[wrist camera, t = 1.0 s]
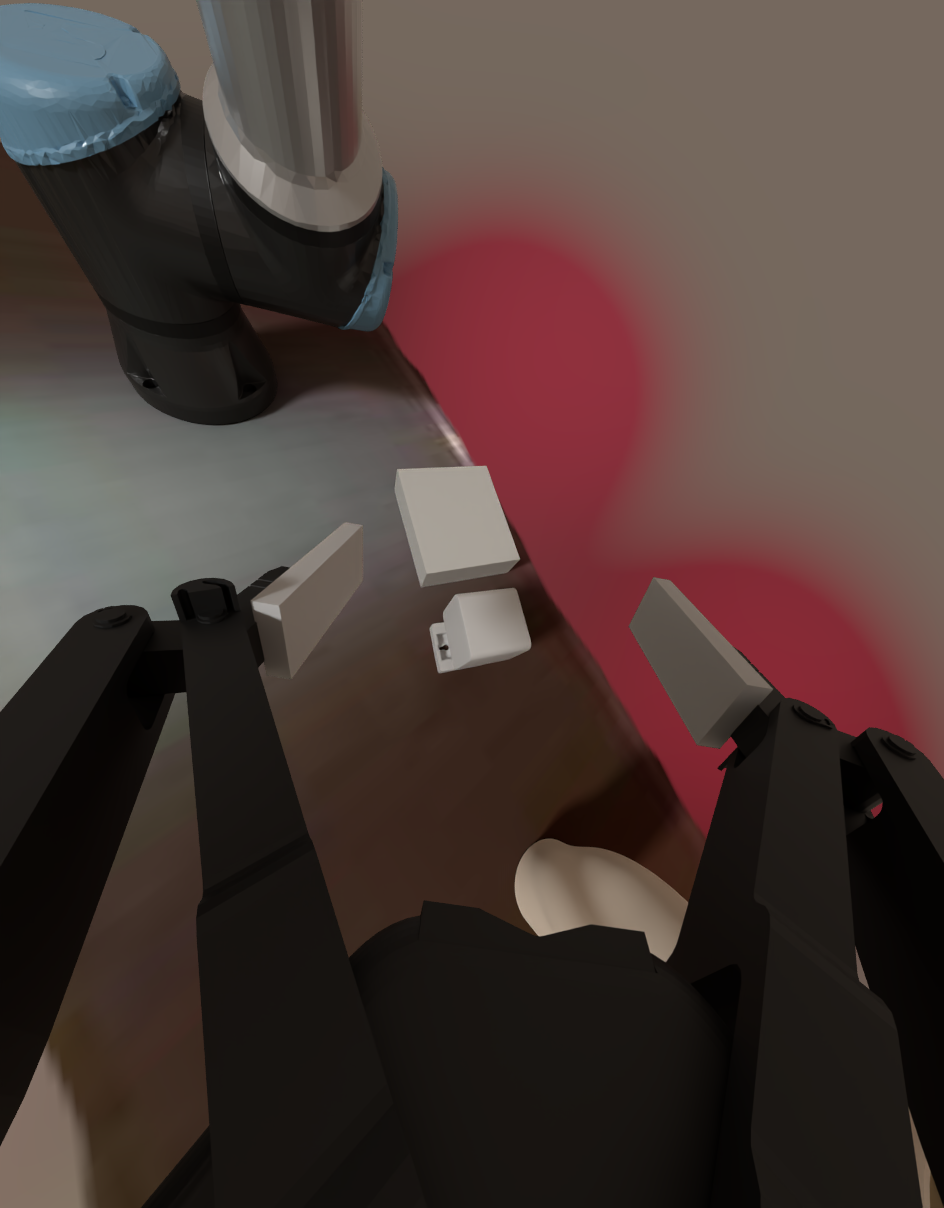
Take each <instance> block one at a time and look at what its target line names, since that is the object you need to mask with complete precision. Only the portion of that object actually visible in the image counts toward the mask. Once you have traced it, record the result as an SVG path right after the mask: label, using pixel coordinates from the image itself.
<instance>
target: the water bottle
mask: <svg viewBox="0 0 944 1208" xmlns="http://www.w3.org/2000/svg"><path fill="white" fill-rule="evenodd" d="M515 894H516V900H517V904H518V907H519V910H520V912H521V913H522V915H523V917H524V918H525V920H526V921H527V922H528V924H529V925H530V926H531V927H532V928H533V930H534V931H535V932H536V934H537V935H538V936H545V935H549V934H553V933H557V932H561V931H565V930H570V929H574V928H578V927H582V926H586V925H590V924H593V925H600V926H607V927H614V928H621V929H629V930H636V931H643V932H645V936H646V939H647V943H648V946H649V950H650V953H652V954H654V955H655V956H657V957H658V958H660V959H661V960H663V961H664V962H666V961H667V960H668V958H669V957H670V955H671V954H672V952H673V950H674V948H675V946H676V944H677V941H678V937H679V934H680V930H681V927H682V923H683V920H684V916H685V913H686V909H687V906H688V902H687V901H686V900H685V899H684V898H683V897H681V896H680V895H679V894H678V893H677V892H676V891H675V890H674V889H673V888H671V887H670V886H669V885H668V884H666V883H665V882H664V881H663V880H661V879H660V878H659V877H658V876H656V875H655V874H653V873H652V872H651V871H649V870H648V869H646V868H644V867H643V866H641V865H640V864H638V863H636V862H635V861H633V860H631V859H629V858H627V857H625V856H623V855H620V854H618V853H615V852H612V851H609V850H606V849H601V848H595V847H576V846H570V845H567V844H565V843H563V842H561V841H559V840H556V839H543V840H540V841H538V842H536V843H534V844H533V845H532V846H530V847H529V848H528V850H527V851H526V852H525V853H524V855H523V857H522V858H521V860H520V863H519V865H518V868H517V872H516V878H515ZM908 1108H909V1107H908ZM909 1115H910V1122H911V1129H912V1136H913V1143H914V1149H915V1156H916V1163H917V1170H918V1177H919V1184H920V1191H921V1198H922V1205H923V1208H944V1207H943V1204H942V1202H941V1199H940V1196H939V1193H938V1191H937V1188H936V1185H935V1182H934V1180H933V1177H932V1174H931V1171H930V1169H929V1166H928V1163H927V1160H926V1158H925V1155H924V1152H923V1149H922V1147H921V1144H920V1141H919V1138H918V1135H917V1132H916V1128H915V1125H914V1122H913V1119H912V1116H911V1113H910V1110H909Z"/></svg>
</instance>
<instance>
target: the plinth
mask: <svg viewBox="0 0 944 1208" xmlns="http://www.w3.org/2000/svg"><path fill="white" fill-rule="evenodd" d="M395 494H396V498H397V501H398V505H399V509H400V512H401V516H402V520H403V523H404V527H405V531H406V534H407V538H408V542H409V545H410V549H411V553H412V556H413V560H414V564H415V567H416V571H417V575H418V578H419V582H420V586H421V587H427V586H433V585H439V584H444V583H450V582H456V581H462V580H468V579H474V578H479V577H485V576H491V575H497V574H503V573H508V572H509V571H510V569H511V568H512V567H513V566H514V565H515V564H516V563H517V562H518V561H519V560H520V557H519V555H518V552H517V549H516V546H515V544H514V541H513V538H512V535H511V533H510V530H509V527H508V524H507V522H506V519H505V516H504V513H503V510H502V508H501V505H500V502H499V499H498V497H497V494H496V491H495V488H494V486H493V483H492V480H491V477H490V475H489V472H488V469H487V466H470V467H443V468H417V469H397V475H396V483H395Z"/></svg>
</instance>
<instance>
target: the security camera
mask: <svg viewBox="0 0 944 1208" xmlns="http://www.w3.org/2000/svg"><path fill="white" fill-rule="evenodd" d="M443 619H444V622H443V623H436V624H432V626H431V627H430V634H431V639H432V644H433V649H434V654H435V660H436V665H437V670H438V672H439V673H444V672H449V671H454V670H459V669H464V668H469V667H474V666H479V665H483V664H488V663H493V662H498V661H503V660H508V659H511V658H513V657H515V656H517V655H519V654H522V653H524V652H526V651H528V650H529V649H530V648H531V640H530V636H529V633H528V629H527V625H526V622H525V618H524V615H523V611H522V607H521V604H520V600H519V597H518V593H517V591H516V589H515V588H508V589H499V590H490V591H481V592H472V593H464V594H456V595H455V596H454V597H453V599H452V600H451V602H450V603H449V604H448V606H447V607H446V609H445V610H444V612H443ZM444 645H448V647H449V649H448V650H439V647H443V646H444Z"/></svg>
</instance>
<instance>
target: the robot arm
mask: <svg viewBox="0 0 944 1208" xmlns="http://www.w3.org/2000/svg"><path fill="white" fill-rule="evenodd" d="M196 2H197V6H198V9H199V13H200V16H201V20H202V24H203V27H204V31H205V34H206V38H207V41H208V45H209V48H210V52H211V56H212V59H213V64H212V65H211V67H210V68H209V70H208V72H207V75H206V78H205V82H204V88H203V101H202V100H199V99H197V98H194V97H191V96H189V95H187V94H185V93H183V92H182V91H181V90H180V83H179V79H178V76H177V73H176V72H175V71H174V69H173V68H172V66H171V64H170V61H169V59H168V57H167V55H166V54H165V52H164V51H163V50H162V48H161V47H160V46H159V45H158V44H157V43H156V42H155V41H154V40H153V39H151V38H150V37H149V36H148V35H142V34H141V33H140V32H139V31H138V30H137V29H136V28H135V27H133V26H131V25H129V24H127V23H124V22H122V21H120V20H117V19H115V18H112V17H109V16H106V15H103V14H100V13H96V12H92V11H88V10H84V9H79V8H73V7H66V6H59V5H51V4H36V3H24V4H10V5H9V4H8V5H2V6H0V137H1V141H2V144H3V147H4V148H5V150H6V152H7V153H8V155H9V156H10V157H11V158H12V159H14V160H15V162H16V164H17V165H18V167H19V168H20V170H21V172H22V173H23V175H24V176H25V178H26V180H27V181H28V183H29V185H30V186H31V188H32V189H33V191H34V193H35V194H36V196H37V198H38V199H39V201H40V202H41V204H42V206H43V207H44V209H45V210H46V212H47V214H48V215H49V217H50V219H51V220H52V222H53V223H54V225H55V227H56V228H57V230H58V231H59V233H60V235H61V236H62V238H63V240H64V241H65V243H66V244H67V246H68V248H69V249H70V251H71V253H72V254H73V256H74V257H75V259H76V261H77V262H78V264H79V265H80V267H81V269H82V270H83V272H84V274H85V275H86V277H87V278H88V280H89V282H90V283H91V285H92V286H93V288H94V289H95V291H96V293H97V294H98V296H99V298H100V299H101V301H102V303H103V304H104V306H105V308H106V310H107V314H108V318H109V322H110V326H111V330H112V334H113V338H114V343H115V347H116V351H117V355H118V359H119V362H120V365H121V367H122V369H123V371H124V373H125V375H126V376H127V378H128V379H129V381H130V382H131V384H132V385H133V387H134V388H135V390H136V391H137V392H138V394H139V395H140V396H141V397H142V398H143V399H144V400H145V401H146V402H147V403H149V404H150V405H151V406H153V407H154V408H156V409H158V410H159V411H161V412H163V413H165V414H167V415H170V416H172V417H175V418H178V419H181V420H185V421H189V422H194V423H200V424H229V423H235V422H239V421H243V420H246V419H249V418H251V417H253V416H255V415H257V414H259V413H261V412H262V411H263V410H265V409H266V408H267V407H268V406H269V405H270V403H271V402H272V401H273V399H274V397H275V394H276V391H277V379H276V375H275V371H274V367H273V363H272V360H271V358H270V356H269V353H268V352H267V350H266V348H265V347H264V345H263V343H262V342H261V340H260V338H259V337H258V335H257V333H256V332H255V330H254V328H253V327H252V325H251V324H250V322H249V320H248V319H247V317H246V315H245V314H244V312H243V310H242V308H241V306H240V304H244V305H249V306H253V307H257V308H261V309H265V310H269V311H274V312H278V313H282V314H286V315H290V316H294V317H298V318H302V319H306V320H310V321H314V322H318V323H322V324H326V325H330V326H334V327H338V328H339V329H342V330H346V329H355V330H361V331H373V330H375V329H376V328H378V327H379V325H380V324H381V322H382V321H383V318H384V316H385V313H386V309H387V306H388V301H389V297H390V291H391V285H392V278H393V277H392V275H393V272H392V268H393V265H394V260H395V254H396V244H397V229H398V228H397V227H398V200H397V198H398V197H397V188H396V184H395V181H394V179H393V177H392V176H391V175H390V173H389V172H387V171H386V170H384V168H383V167H382V159H381V154H380V149H379V145H378V141H377V138H376V136H375V133H374V131H373V128H372V126H371V124H370V122H369V120H368V118H367V116H366V114H365V113H364V111H363V109H362V18H363V15H362V14H363V11H362V10H363V0H196ZM362 581H363V525H358V524H352V523H347V522H345V523H344V524H342V525H341V526H340V527H339V528H338V529H336V530H335V531H334V532H333V533H332V534H330V535H329V536H328V537H327V538H325V539H324V540H323V541H322V542H321V543H319V544H318V545H317V546H316V547H315V548H313V549H312V550H311V551H310V552H309V553H307V554H306V555H305V556H304V557H303V558H301V559H300V560H299V561H298V562H297V563H295V564H294V565H293V566H292V567H291V568H289V567H283V566H281V567H279V568H276V569H273V570H271V571H268V572H267V573H265V574H264V575H263V576H261V577H260V578H259V579H258V580H256V581H255V582H254V583H252V584H251V586H248V587H247V588H246V589H244V590H243V591H242V592H241V593H239V594H238V595H237V594H236V590H235V586H234V585H233V583H232V582H230V581H228V580H225V579H219V578H203V579H197V580H193V581H189V582H186V583H184V584H181V585H179V586H178V587H176V588H175V589H174V590H173V591H172V593H171V598H172V600H173V603H174V606H175V608H176V611H177V614H178V617H179V619H180V620H174V621H151V619H150V617H149V614H148V612H147V611H146V610H145V609H144V608H142V607H139V606H135V605H120V606H110V607H105V608H104V609H103V608H102V609H99V610H96V611H94V612H92V613H90V614H87V615H85V616H83V617H82V618H81V619H79V620H78V621H77V622H76V623H75V624H74V625H73V626H72V628H71V629H70V630H69V631H68V632H67V634H66V635H65V636H64V637H63V638H62V639H61V641H60V642H59V643H58V644H57V645H56V647H55V648H54V649H53V650H52V651H51V653H50V654H49V655H48V656H47V657H46V658H45V660H44V661H43V662H42V663H41V664H40V666H39V667H38V668H37V669H36V670H35V672H34V673H33V674H32V675H31V676H30V677H29V679H28V680H27V681H26V682H25V683H24V685H23V686H22V687H21V688H20V689H19V690H18V692H17V693H16V694H15V695H14V696H13V698H12V699H11V700H10V701H9V702H8V704H7V705H6V706H5V707H4V708H3V709H2V711H1V712H0V1146H1V1144H2V1141H3V1139H4V1138H5V1135H6V1133H7V1131H8V1129H9V1127H10V1125H11V1123H12V1121H13V1119H14V1117H15V1115H16V1113H17V1111H18V1109H19V1107H20V1105H21V1103H22V1101H23V1099H24V1097H25V1094H26V1092H27V1089H28V1087H29V1085H30V1082H31V1080H32V1077H33V1075H34V1072H35V1070H36V1068H37V1065H38V1063H39V1060H40V1058H41V1056H42V1053H43V1051H44V1048H45V1046H46V1043H47V1041H48V1039H49V1036H50V1033H51V1030H52V1028H53V1025H54V1022H55V1019H56V1017H57V1014H58V1011H59V1009H60V1006H61V1003H62V1000H63V998H64V995H65V992H66V989H67V987H68V984H69V981H70V979H71V976H72V973H73V970H74V968H75V965H76V962H77V960H78V957H79V954H80V951H81V949H82V946H83V943H84V940H85V938H86V935H87V932H88V930H89V927H90V924H91V921H92V919H93V916H94V913H95V911H96V908H97V905H98V902H99V900H100V897H101V894H102V891H103V889H104V886H105V883H106V881H107V878H108V875H109V872H110V870H111V867H112V864H113V862H114V859H115V856H116V853H117V851H118V848H119V845H120V842H121V840H122V837H123V834H124V832H125V829H126V826H127V823H128V821H129V818H130V815H131V812H132V810H133V807H134V804H135V802H136V799H137V796H138V793H139V791H140V788H141V785H142V783H143V780H144V777H145V774H146V772H147V769H148V766H149V763H150V761H151V758H152V755H153V753H154V750H155V747H156V744H157V742H158V739H159V736H160V734H161V731H162V728H163V725H164V723H165V720H166V717H167V714H168V712H169V709H170V706H171V704H172V701H173V698H174V695H175V693H181V692H187V704H188V715H189V727H190V738H191V750H192V762H193V773H194V785H195V796H196V808H197V820H198V831H199V843H200V855H201V866H202V878H203V898H202V900H201V901H200V903H199V905H198V909H197V917H196V926H197V948H198V963H199V977H200V992H201V1007H202V1021H203V1036H204V1051H205V1065H206V1080H207V1095H208V1109H209V1124H210V1125H209V1126H208V1128H207V1129H206V1130H205V1131H204V1132H203V1134H202V1135H201V1136H200V1137H199V1138H198V1140H197V1141H196V1142H195V1143H194V1145H193V1146H192V1147H191V1148H190V1149H189V1151H188V1152H187V1153H186V1154H185V1155H184V1157H183V1158H182V1159H181V1160H180V1161H179V1163H178V1164H177V1165H176V1166H175V1167H174V1169H173V1170H172V1171H171V1172H170V1173H169V1175H168V1176H167V1177H166V1178H165V1179H164V1181H163V1182H162V1183H161V1184H160V1185H159V1187H158V1188H157V1189H156V1190H155V1191H154V1193H153V1194H152V1195H151V1196H150V1197H149V1199H148V1200H147V1201H146V1202H145V1204H144V1205H143V1206H142V1207H141V1208H923V1205H922V1198H921V1191H920V1184H919V1177H918V1170H917V1163H916V1156H915V1149H914V1143H913V1136H912V1129H911V1122H910V1115H909V1110H910V1113H911V1116H912V1119H913V1122H914V1125H915V1128H916V1132H917V1135H918V1138H919V1141H920V1144H921V1147H922V1149H923V1152H924V1155H925V1158H926V1160H927V1163H928V1166H929V1169H930V1171H931V1174H932V1177H933V1180H934V1182H935V1185H936V1188H937V1191H938V1193H939V1196H940V1199H941V1202H942V1204H943V1207H944V779H943V778H942V776H941V775H940V774H939V772H938V771H937V770H936V768H935V767H934V766H933V764H932V763H931V762H930V760H929V759H927V757H926V756H925V755H924V754H923V753H922V752H920V751H919V750H918V749H916V748H915V747H914V745H913V744H911V743H910V742H908V741H905V740H904V739H903V738H901V737H900V736H897V735H894V734H892V733H889V732H887V731H884V730H881V729H878V728H868V729H867V730H865V731H864V732H863V733H862V734H860V735H859V736H858V737H854V736H851V735H849V734H846V733H843V732H840V731H838V730H837V729H836V727H835V725H834V724H833V723H832V721H831V720H830V719H829V718H828V717H826V716H825V715H824V714H823V713H821V712H820V711H819V710H817V709H815V708H814V707H812V706H810V705H808V704H806V703H804V702H801V701H799V700H796V699H792V698H785V697H784V696H783V695H782V694H781V693H780V692H779V691H778V690H777V689H776V688H775V687H774V686H773V685H772V684H771V683H770V682H769V681H768V680H767V679H766V677H764V676H763V674H762V673H760V672H759V670H758V669H757V668H756V667H755V666H754V665H753V664H751V662H750V661H749V660H748V659H747V658H746V657H745V656H744V655H743V653H742V652H740V651H739V650H737V649H736V648H735V647H733V646H732V645H731V644H730V643H729V642H728V641H727V640H726V639H725V638H724V637H723V636H722V635H721V634H720V633H719V631H717V629H716V628H715V627H714V626H713V625H712V624H711V623H710V622H709V621H708V620H707V619H706V618H705V617H704V616H703V615H702V614H701V612H700V611H698V609H697V608H696V607H695V606H694V605H693V604H692V603H691V602H690V601H689V600H688V599H687V598H686V597H685V596H684V594H683V593H682V592H681V591H680V590H679V589H678V588H677V587H676V586H675V585H674V584H673V583H672V582H671V581H670V580H666V579H660V578H655V577H654V578H653V579H652V581H651V583H650V585H649V587H648V589H647V592H646V593H645V595H644V597H643V599H642V601H641V603H640V605H639V607H638V609H637V611H636V613H635V615H634V617H633V619H632V621H631V623H630V625H629V628H630V630H631V631H632V633H633V634H634V637H635V638H636V640H637V642H638V644H639V645H640V647H641V649H642V651H643V652H644V654H645V656H646V657H647V659H648V661H649V663H650V664H651V666H652V668H653V670H654V671H655V673H656V675H657V677H658V678H659V680H660V682H661V684H662V685H663V687H664V689H665V690H666V692H667V694H668V696H669V697H670V699H671V701H672V703H673V704H674V706H675V708H676V710H677V711H678V713H679V715H680V717H681V718H682V720H683V722H684V723H685V725H686V727H687V729H688V730H689V732H690V734H691V736H692V737H693V739H694V741H695V742H696V744H697V745H700V746H706V747H712V748H718V749H720V748H721V747H722V745H723V744H724V743H725V742H726V741H727V740H728V739H729V738H730V737H732V739H733V740H734V741H735V743H736V744H737V746H738V747H737V748H736V749H735V750H734V751H733V752H732V753H731V754H730V755H729V756H728V758H727V759H726V760H725V761H724V762H723V763H722V764H721V765H720V766H719V767H718V769H719V770H721V771H722V770H723V769H724V768H727V769H726V773H725V776H724V780H723V783H722V787H721V790H720V794H719V797H718V801H717V805H716V808H715V811H714V815H713V818H712V822H711V825H710V829H709V832H708V836H707V839H706V843H705V846H704V850H703V853H702V857H701V860H700V864H699V867H698V871H697V874H696V878H695V881H694V885H693V888H692V892H691V895H690V899H689V902H688V906H687V909H686V913H685V916H684V920H683V923H682V927H681V930H680V934H679V937H678V941H677V944H676V946H675V948H674V950H673V952H672V954H671V955H670V957H669V958H668V960H667V961H666V962H664V961H663V960H661V959H660V958H658V957H657V956H655V955H654V954H652V953H650V950H649V946H648V943H647V939H646V936H645V932H643V931H636V930H629V929H621V928H614V927H607V926H600V925H593V924H590V925H586V926H582V927H578V928H574V929H570V930H565V931H561V932H557V933H553V934H549V935H545V936H534V935H531V934H529V933H527V932H525V931H523V930H521V929H519V928H517V927H515V926H513V925H511V924H509V923H507V922H505V921H503V920H501V919H499V918H497V917H495V916H493V915H491V914H489V913H487V912H485V911H483V910H481V909H479V908H473V907H466V906H459V905H452V904H445V903H438V902H431V901H424V902H423V906H422V911H421V915H420V916H416V917H411V918H407V919H404V920H402V921H399V922H397V923H394V924H392V925H390V926H388V927H387V928H385V929H383V930H381V931H380V932H378V933H377V934H375V935H374V936H373V937H372V938H370V939H369V940H368V941H366V942H365V943H364V944H363V945H362V946H361V947H360V948H359V949H357V950H356V951H355V952H354V953H353V954H352V955H351V956H350V957H349V958H348V954H347V951H346V948H345V945H344V941H343V938H342V935H341V932H340V928H339V925H338V922H337V919H336V915H335V912H334V909H333V906H332V902H331V899H330V896H329V893H328V889H327V886H326V883H325V880H324V876H323V873H322V870H321V867H320V863H319V860H318V857H317V854H316V851H315V848H314V845H313V842H312V840H311V838H310V836H309V834H308V831H307V827H306V824H305V821H304V818H303V814H302V811H301V808H300V804H299V801H298V798H297V795H296V791H295V788H294V785H293V781H292V778H291V775H290V772H289V768H288V765H287V762H286V758H285V755H284V752H283V749H282V745H281V742H280V739H279V735H278V732H277V729H276V726H275V722H274V719H273V716H272V712H271V709H270V706H269V703H268V699H267V696H266V693H265V689H264V686H263V683H262V680H261V676H260V673H259V670H258V667H259V666H260V665H261V664H262V663H263V662H264V665H265V670H266V674H267V676H274V677H280V678H286V679H292V678H293V677H294V675H295V674H296V672H297V671H298V670H299V668H300V667H301V666H302V664H303V663H304V661H305V660H306V659H307V657H308V656H309V654H310V653H311V652H312V650H313V649H314V648H315V646H316V645H317V643H318V642H319V641H320V639H321V638H322V637H323V635H324V634H325V632H326V631H327V630H328V628H329V627H330V626H331V624H332V623H333V621H334V620H335V619H336V617H337V616H338V614H339V613H340V612H341V610H342V609H343V608H344V606H345V605H346V603H347V602H348V601H349V599H350V598H351V597H352V595H353V594H354V592H355V591H356V590H357V588H358V587H359V585H360V584H361V583H362ZM882 802H883V805H882V810H881V812H880V813H879V814H878V815H877V816H876V817H875V818H874V816H873V814H872V812H871V809H873V808H874V807H876V806H877V805H879V804H881V803H882ZM855 946H856V949H857V952H858V955H859V958H860V962H861V965H862V968H863V971H864V973H865V977H866V980H867V983H868V986H869V989H870V990H869V989H868V988H867V987H866V986H864V985H863V984H862V983H861V982H859V978H858V974H857V965H856V952H855ZM908 1107H909V1108H908Z"/></svg>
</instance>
